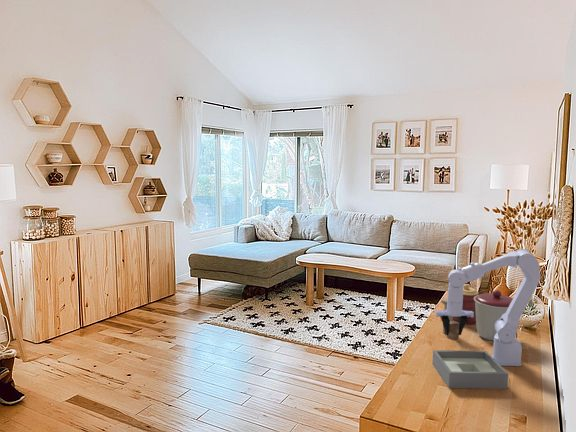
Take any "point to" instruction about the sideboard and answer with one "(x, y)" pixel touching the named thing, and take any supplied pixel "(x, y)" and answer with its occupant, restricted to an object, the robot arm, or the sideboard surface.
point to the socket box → (469, 369)
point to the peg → (453, 330)
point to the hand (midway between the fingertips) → (452, 334)
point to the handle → (445, 309)
